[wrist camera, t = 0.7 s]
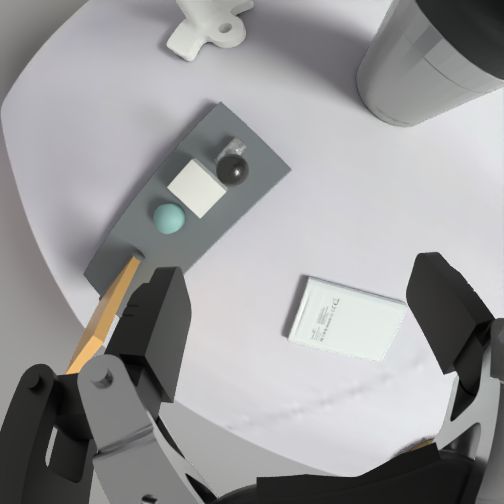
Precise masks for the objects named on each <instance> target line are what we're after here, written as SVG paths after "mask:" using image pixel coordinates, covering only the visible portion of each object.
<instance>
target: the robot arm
mask: <svg viewBox="0 0 504 504" xmlns="http://www.w3.org/2000/svg"><path fill="white" fill-rule="evenodd" d="M356 84H357V88H358V92H359V94H360V97H361V99H362V100H363V102H364V103H365V105H366V106H367V108H368V109H369V110H370V111H371V112H372V113H373V114H374V115H376V116H377V117H378V118H380V119H381V120H383V121H385V122H387V123H388V124H391V125H395V126H399V127H410V126H414V125H417V124H419V123H421V122H424V121H426V120H428V119H430V118H433V117H435V116H437V115H439V114H441V113H444V112H446V111H448V110H450V109H452V108H455V107H457V106H459V105H462V104H464V103H466V102H468V101H471V100H473V99H475V98H478V97H480V96H483V95H485V94H487V93H490V92H492V91H494V90H497V89H499V88H502V87H504V0H393V1H392V3H391V5H390V7H389V9H388V11H387V13H386V15H385V17H384V19H383V21H382V23H381V25H380V27H379V29H378V31H377V33H376V35H375V37H374V39H373V41H372V43H371V45H370V47H369V49H368V51H367V52H366V54H365V56H364V58H363V60H362V62H361V64H360V66H359V68H358V71H357V75H356ZM473 290H474V289H473V288H472V287H471V286H470V284H467V281H466V279H465V278H464V277H463V276H462V275H461V273H460V272H458V271H457V270H456V269H454V268H453V267H451V266H450V265H449V263H448V262H447V261H446V260H445V259H444V258H443V257H442V255H441V254H440V253H438V252H429V253H419V254H418V255H417V257H416V259H415V263H414V266H413V270H412V273H411V276H410V280H409V283H408V286H407V290H406V299H407V303H408V305H409V307H410V309H411V311H412V313H413V314H414V316H415V318H416V320H417V322H418V324H419V325H420V327H421V329H422V331H423V333H424V335H425V337H426V339H427V341H428V343H429V345H430V347H431V349H432V351H433V353H434V355H435V357H436V359H437V361H438V363H439V365H440V368H441V370H442V372H443V374H444V375H445V374H448V373H451V372H454V371H456V372H457V374H458V375H457V376H456V377H455V379H454V382H453V386H452V391H451V395H450V399H449V403H448V407H447V411H446V415H445V418H444V422H443V425H442V427H441V429H440V431H439V433H438V434H437V435H436V437H435V438H434V440H433V442H432V443H431V444H429V445H426V446H423V447H421V448H418V449H415V450H412V451H409V452H406V453H403V454H400V455H398V456H396V457H395V458H393V459H391V460H389V461H388V462H386V463H384V464H382V465H380V466H379V467H377V468H375V469H373V470H371V471H369V472H367V473H365V474H363V475H360V476H357V477H334V476H320V475H308V474H304V475H295V476H280V477H257V484H253V485H249V486H245V487H243V488H240V489H236V490H234V491H232V492H229V493H227V494H225V495H223V496H221V497H220V498H219V497H218V496H217V494H216V493H215V492H214V491H213V489H212V488H211V487H210V486H209V484H208V483H207V482H206V481H205V479H204V478H203V477H202V476H201V474H200V473H199V472H198V471H197V470H196V469H195V467H194V466H193V465H192V464H191V462H190V461H189V460H188V458H187V457H186V455H185V454H184V452H183V451H182V450H181V448H180V446H179V445H178V443H177V442H176V440H175V439H174V437H173V435H172V434H171V432H170V431H169V429H168V427H167V426H166V424H165V423H164V421H163V419H162V417H161V415H160V414H159V409H160V404H161V402H167V403H173V401H174V396H175V391H176V386H177V381H178V376H179V372H180V367H181V362H182V358H183V353H184V348H185V344H186V339H187V335H188V331H189V326H190V322H191V303H190V299H189V295H188V292H187V288H186V284H185V280H184V276H183V272H182V270H181V268H180V267H179V266H175V267H157V268H156V269H155V271H154V273H153V275H152V277H151V279H150V281H149V283H142V284H141V285H140V286H139V287H138V288H137V289H136V290H135V291H134V292H133V293H132V295H131V297H130V299H129V301H128V303H127V307H125V309H124V311H123V313H122V317H120V320H119V322H118V324H117V326H116V328H115V330H114V332H113V335H112V337H111V339H110V341H109V344H108V346H107V348H106V350H105V353H104V355H99V356H96V357H94V358H92V359H90V360H89V361H87V362H86V363H85V364H84V365H83V367H82V368H81V370H80V372H79V373H73V374H65V375H58V376H57V375H56V374H55V373H54V372H53V370H52V369H51V368H50V367H49V366H47V365H45V364H36V365H34V366H32V367H30V368H29V369H28V370H26V371H25V373H24V374H23V376H22V377H21V379H20V381H19V384H18V386H17V388H16V391H15V393H14V396H13V398H12V401H11V403H10V406H9V408H8V411H7V414H6V416H5V419H4V422H3V425H2V428H1V431H0V504H89V497H90V490H91V483H92V476H93V470H94V469H95V471H96V473H97V476H98V479H99V481H100V483H101V485H102V487H103V490H104V491H105V494H106V495H107V498H108V500H109V502H110V504H504V318H497V319H495V318H494V316H493V315H492V314H491V312H490V311H489V309H488V308H487V307H486V305H485V304H484V303H483V301H482V300H481V299H480V297H479V296H478V295H477V293H476V292H474V291H473ZM53 426H54V427H55V428H56V429H57V430H58V431H57V435H56V438H55V442H54V446H53V450H52V454H51V458H50V462H49V466H48V467H47V465H46V462H45V456H46V451H47V448H48V444H49V440H50V437H51V433H52V429H53ZM97 449H98V453H97ZM474 458H475V460H474Z"/></svg>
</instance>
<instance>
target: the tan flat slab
mask: <svg viewBox="0 0 504 504" xmlns="http://www.w3.org/2000/svg"><path fill="white" fill-rule="evenodd" d="M144 260H145V256H144V254H143V253H142V252H141V251H139V250H134V251H133V252H132V253H131V255H130V256H129V257H128V259H127V260H126V261H125V263H124V264H123V265H122V267H121V268H120V269H119V271H118V272H117V273H116V275H115V276H114V277H113V279H112V280H111V282H110V283H109V284H108V286H107V287H106V289H105V290H104V291H103V293H102V294H101V296H100V297H99V301H100V302H99V304H98V306H97V308H96V309H95V311H94V313H93V315H92V317H91V319H90V321H89V323H88V325H87V327H86V329H85V331H84V333H83V335H82V337H81V340H80V342H79V344H78V346H77V348H76V350H75V352H74V355H73V357H72V359H71V361H70V364H69V366H68V368H67V371H66V373H65V374H73V373H79V372H80V370H81V368H82V367H83V365H84V364H85V363H86V362H87V361H89V360H90V359H91V357H92V356H93V355H94V354H95V353H96V351H97V350H98V349H99V348H100V346H101V345H102V344H103V343H104V341H105V338H106V336H107V333H108V331H109V328H110V326H111V324H112V321H113V319H114V317H115V314H116V312H117V310H118V308H119V305H120V303H121V301H122V299H123V297H124V295H125V292H126V290H127V288H128V286H129V284H130V282H131V280H132V278H133V276H134V274H135V272H136V269H137V268H138V267H139V266H140V264H141V263H142V262H143V261H144Z"/></svg>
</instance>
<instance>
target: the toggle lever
mask: <svg viewBox="0 0 504 504" xmlns="http://www.w3.org/2000/svg"><path fill="white" fill-rule="evenodd" d="M246 149H248V147H247V146H246V145H245V144H244V143H243V142H242V141H241V140H240V139H239V138H238V137H235V138H234V139H233V140H232V141H231V142H230V143H229V144H228V145H227V146H226V147H225V148H224V149H223V150H222V151H221V152H220V153H219V154H218V155H217V156H216V157H215V158H214V160H215V161H216V163H217V164H216V168H215V172H216V176H217V178H218V180H219V181H220V182H221V183H222V184H224V185H226V186H229V187H235V186H239V185H241V184H242V183H243V182H245V180H246V179H247V177H248V175H249V165H248V162H247V161H246V159H245V158H244V157H242V156H241V154H242V153H243V152H244V151H245V150H246Z"/></svg>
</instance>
